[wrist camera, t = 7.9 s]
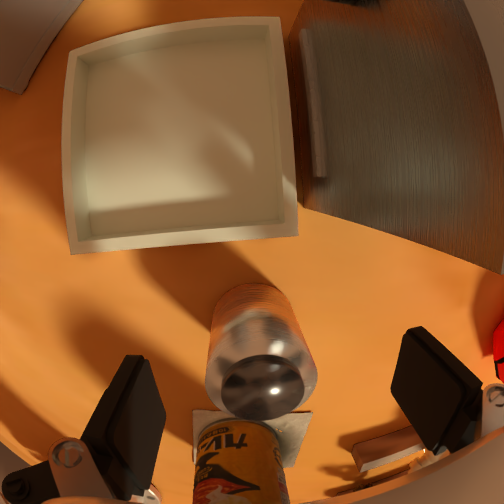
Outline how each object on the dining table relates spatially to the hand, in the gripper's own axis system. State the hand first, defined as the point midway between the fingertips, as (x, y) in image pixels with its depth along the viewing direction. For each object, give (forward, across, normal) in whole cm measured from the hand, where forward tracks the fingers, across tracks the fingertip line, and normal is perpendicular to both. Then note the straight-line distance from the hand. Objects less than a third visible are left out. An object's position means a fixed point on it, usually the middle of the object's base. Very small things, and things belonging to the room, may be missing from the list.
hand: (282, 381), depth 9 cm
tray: (+7, +4, -10) cm, 12 cm away
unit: (+7, -5, -10) cm, 13 cm away
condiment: (+6, +2, +12) cm, 14 cm away
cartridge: (+6, +1, +1) cm, 7 cm away
